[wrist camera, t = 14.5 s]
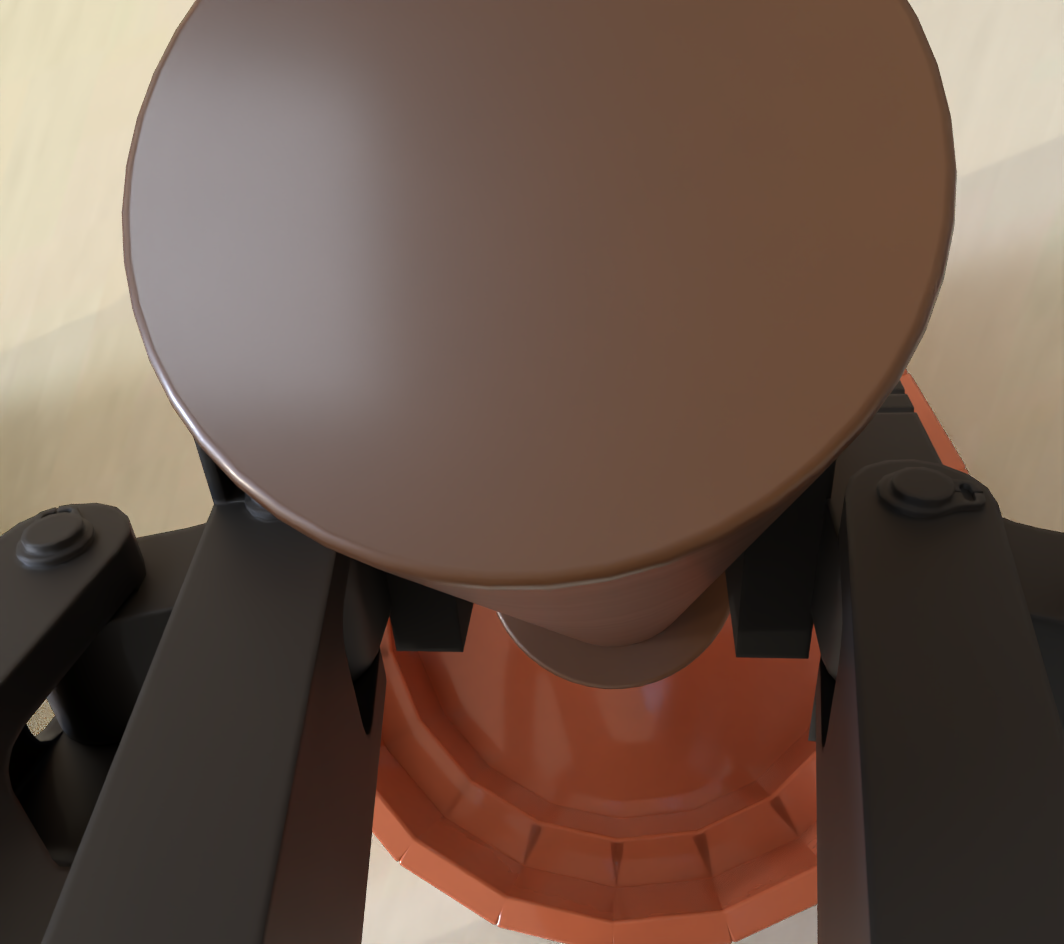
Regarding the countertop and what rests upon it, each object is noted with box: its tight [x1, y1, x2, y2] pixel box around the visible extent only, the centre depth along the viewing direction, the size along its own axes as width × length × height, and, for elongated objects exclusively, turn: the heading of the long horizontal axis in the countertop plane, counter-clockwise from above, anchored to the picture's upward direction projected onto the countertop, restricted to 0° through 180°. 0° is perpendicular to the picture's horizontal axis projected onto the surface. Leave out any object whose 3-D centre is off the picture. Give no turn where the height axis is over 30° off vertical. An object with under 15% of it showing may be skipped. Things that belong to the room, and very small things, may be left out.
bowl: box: [372, 369, 969, 944], centre depth 22 cm, size 14×14×6 cm
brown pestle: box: [122, 0, 957, 689], centre depth 11 cm, size 4×4×16 cm
